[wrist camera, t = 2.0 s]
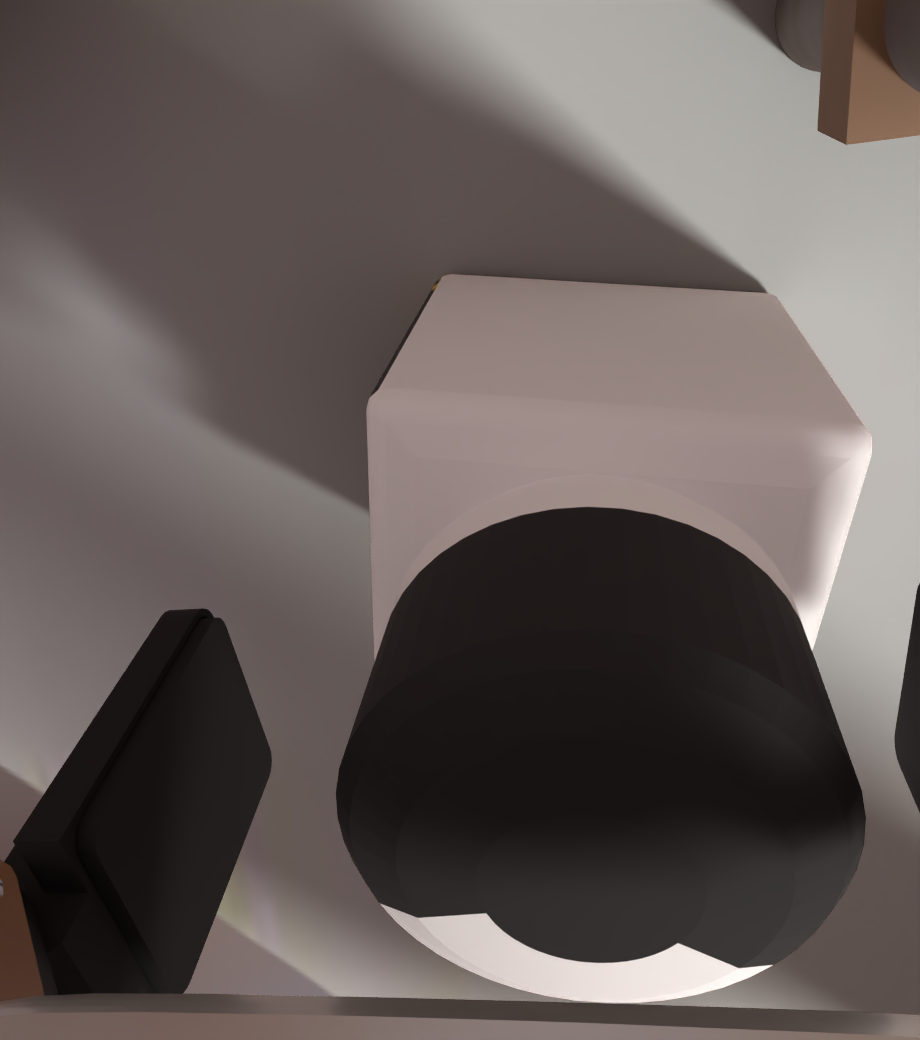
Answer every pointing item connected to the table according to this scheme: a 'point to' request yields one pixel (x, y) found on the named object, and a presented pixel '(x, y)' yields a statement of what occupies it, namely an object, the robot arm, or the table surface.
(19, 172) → the table surface
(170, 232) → the table surface
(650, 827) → the medicine bottle
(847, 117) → the shelf stand
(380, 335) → the table surface
